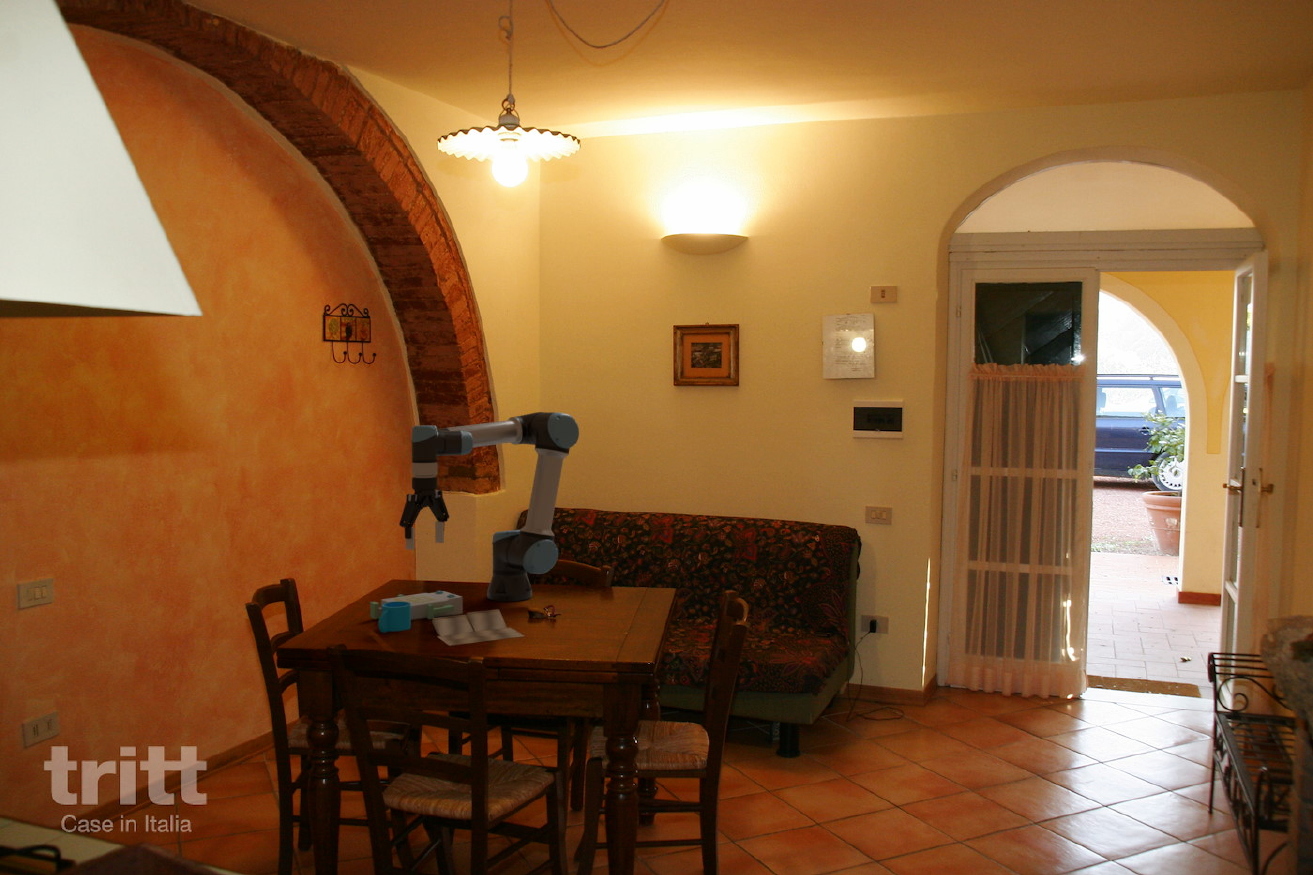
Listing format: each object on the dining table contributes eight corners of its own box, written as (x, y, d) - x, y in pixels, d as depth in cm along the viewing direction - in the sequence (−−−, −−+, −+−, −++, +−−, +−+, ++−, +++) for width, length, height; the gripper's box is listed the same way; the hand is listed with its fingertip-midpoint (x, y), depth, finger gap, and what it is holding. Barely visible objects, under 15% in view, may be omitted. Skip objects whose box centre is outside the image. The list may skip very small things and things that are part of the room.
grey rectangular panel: (474, 634, 272) (475, 631, 272) (466, 615, 278) (467, 612, 278) (506, 630, 277) (507, 627, 277) (497, 612, 283) (498, 609, 283)
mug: (393, 627, 281) (393, 600, 280) (416, 630, 278) (416, 602, 277) (367, 637, 269) (367, 608, 269) (391, 640, 267) (391, 611, 266)
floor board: (510, 631, 277) (510, 627, 277) (524, 640, 268) (524, 635, 268) (436, 640, 266) (436, 636, 266) (449, 649, 257) (449, 645, 256)
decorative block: (436, 586, 310) (469, 596, 296) (436, 606, 310) (469, 617, 296) (363, 597, 292) (395, 609, 278) (363, 618, 293) (395, 630, 278)
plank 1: (440, 639, 267) (440, 635, 267) (432, 621, 273) (433, 618, 273) (473, 634, 272) (473, 631, 272) (465, 618, 278) (465, 614, 278)
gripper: (441, 472, 297) (441, 539, 298) (386, 479, 275) (387, 551, 276) (460, 473, 294) (460, 540, 295) (406, 480, 272) (407, 553, 273)
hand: (425, 546), depth 286 cm, fingers open, 13 cm apart
